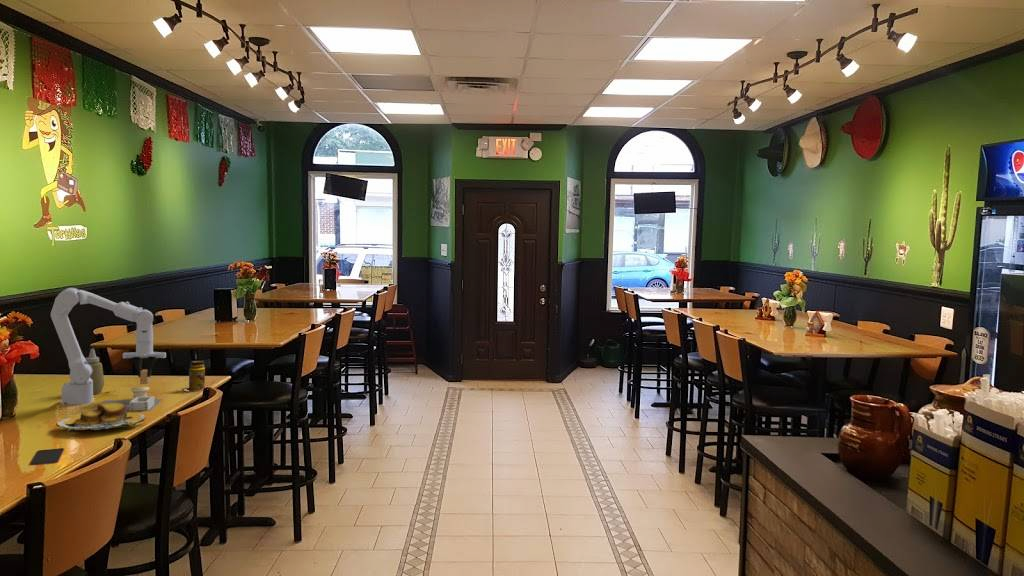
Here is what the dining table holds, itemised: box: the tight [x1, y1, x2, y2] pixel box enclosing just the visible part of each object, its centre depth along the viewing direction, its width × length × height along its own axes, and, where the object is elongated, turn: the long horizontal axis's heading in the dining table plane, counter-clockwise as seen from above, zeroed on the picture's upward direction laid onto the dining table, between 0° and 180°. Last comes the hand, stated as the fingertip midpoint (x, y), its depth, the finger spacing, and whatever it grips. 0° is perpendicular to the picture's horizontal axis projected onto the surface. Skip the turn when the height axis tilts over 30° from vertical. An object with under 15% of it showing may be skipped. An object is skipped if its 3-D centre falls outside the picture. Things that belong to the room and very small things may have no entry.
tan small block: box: [139, 369, 151, 385], centre depth 254 cm, size 2×4×5 cm, turn 15°
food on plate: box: [55, 402, 147, 432], centre depth 221 cm, size 25×25×7 cm
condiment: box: [182, 360, 206, 393], centre depth 276 cm, size 7×8×12 cm
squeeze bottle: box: [85, 348, 105, 395], centre depth 263 cm, size 8×8×18 cm
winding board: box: [91, 386, 164, 412], centre depth 242 cm, size 20×17×6 cm
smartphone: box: [28, 447, 65, 466], centre depth 190 cm, size 7×1×14 cm
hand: (144, 376), depth 253 cm, fingers closed on tan small block, 2 cm apart
